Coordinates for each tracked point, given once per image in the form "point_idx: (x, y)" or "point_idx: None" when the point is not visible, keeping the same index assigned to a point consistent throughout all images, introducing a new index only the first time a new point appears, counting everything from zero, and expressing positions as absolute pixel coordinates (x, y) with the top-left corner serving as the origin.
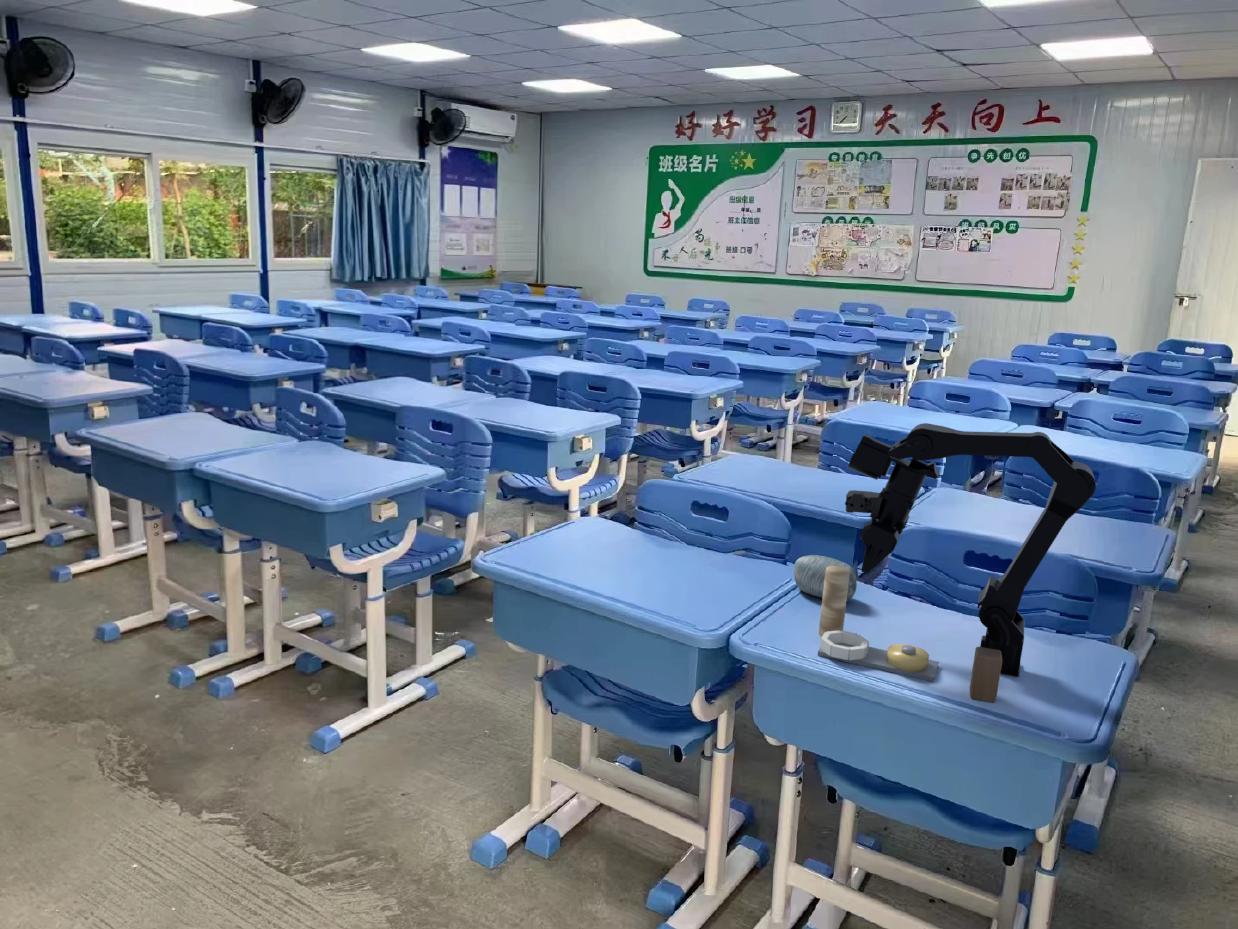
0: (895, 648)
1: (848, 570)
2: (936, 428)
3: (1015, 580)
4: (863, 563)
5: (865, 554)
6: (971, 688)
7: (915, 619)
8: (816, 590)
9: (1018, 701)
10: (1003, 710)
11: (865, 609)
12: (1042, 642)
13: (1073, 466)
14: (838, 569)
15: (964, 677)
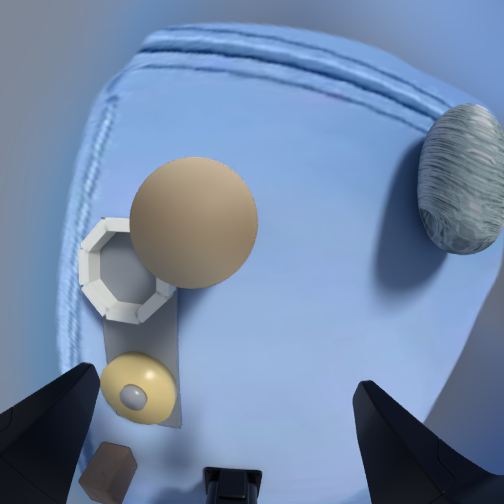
0: (136, 375)
1: (213, 279)
2: None
3: None
4: (48, 387)
5: (4, 416)
6: (98, 449)
7: (391, 374)
8: (421, 162)
9: (138, 480)
10: None
11: (411, 278)
12: (347, 499)
13: None
14: (199, 224)
15: (165, 448)
